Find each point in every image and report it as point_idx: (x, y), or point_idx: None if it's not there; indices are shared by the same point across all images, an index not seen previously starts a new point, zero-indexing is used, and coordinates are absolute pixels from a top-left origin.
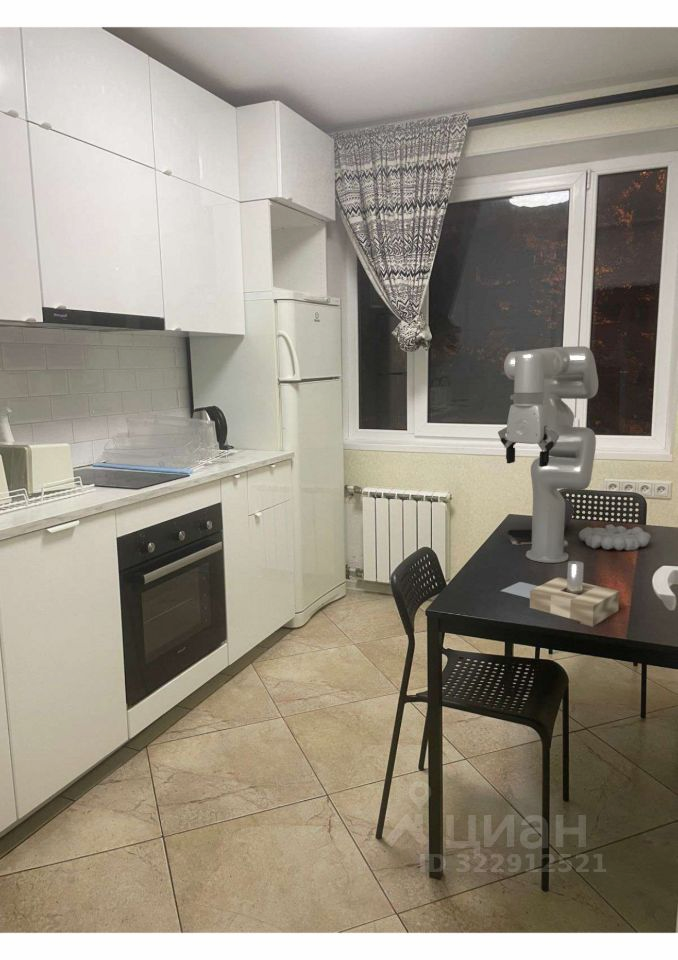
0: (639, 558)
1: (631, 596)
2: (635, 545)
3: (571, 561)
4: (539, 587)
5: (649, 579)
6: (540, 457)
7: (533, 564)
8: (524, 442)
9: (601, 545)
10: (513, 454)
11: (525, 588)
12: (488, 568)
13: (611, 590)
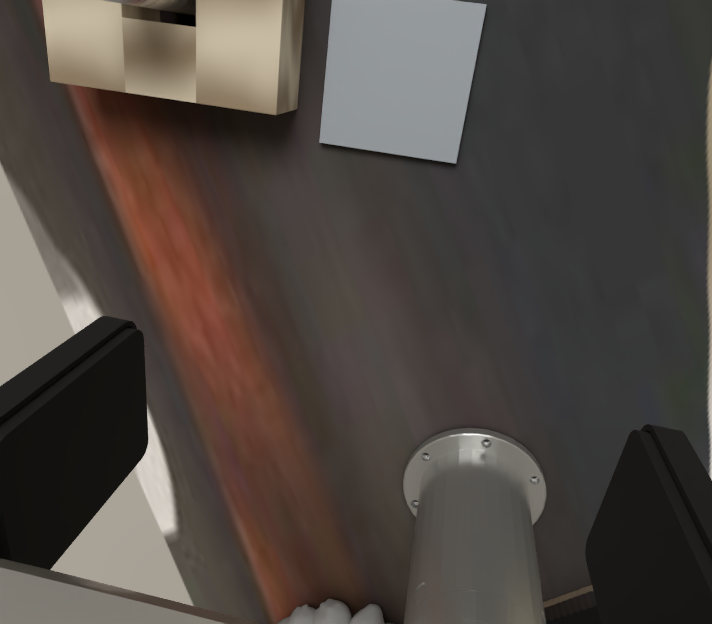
0: (244, 567)
1: (124, 236)
2: None
3: None
4: None
5: (152, 407)
6: (40, 376)
7: (489, 398)
8: (186, 614)
9: (348, 610)
10: (625, 619)
11: (409, 95)
12: (631, 280)
13: (69, 68)
